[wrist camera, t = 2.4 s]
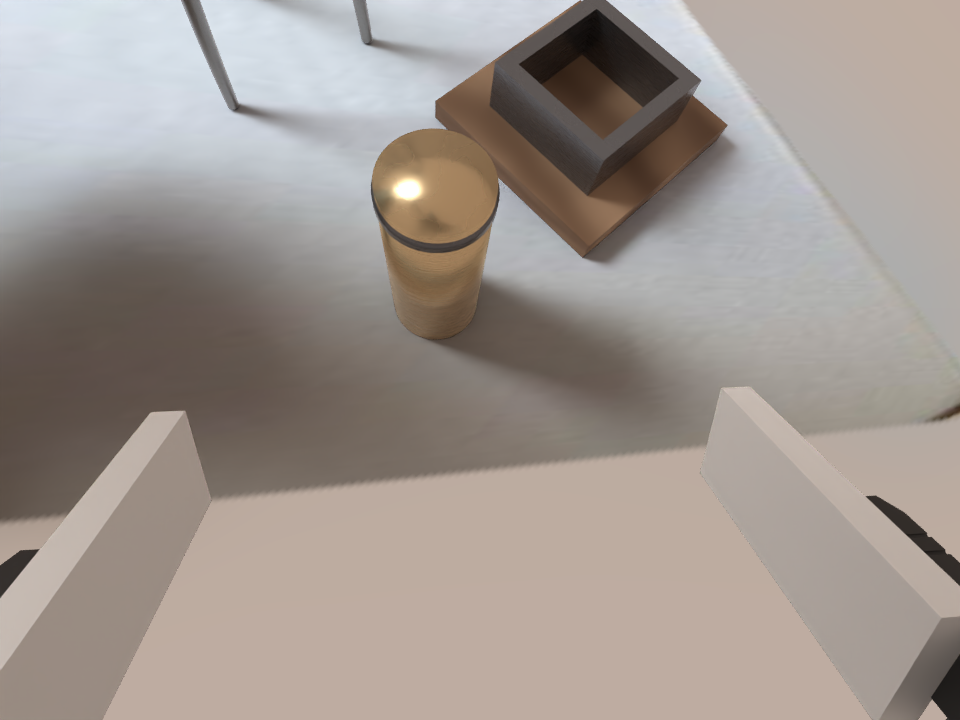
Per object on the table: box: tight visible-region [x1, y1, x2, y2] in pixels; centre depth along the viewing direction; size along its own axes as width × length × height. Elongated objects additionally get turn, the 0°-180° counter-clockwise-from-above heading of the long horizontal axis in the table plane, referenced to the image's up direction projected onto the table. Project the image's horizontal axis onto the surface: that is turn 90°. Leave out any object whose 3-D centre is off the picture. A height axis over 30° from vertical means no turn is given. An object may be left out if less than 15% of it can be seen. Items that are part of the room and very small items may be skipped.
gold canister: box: [371, 129, 500, 339], centre depth 27 cm, size 5×5×12 cm
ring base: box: [435, 0, 727, 258], centre depth 37 cm, size 14×14×2 cm
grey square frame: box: [489, 0, 701, 196], centre depth 34 cm, size 9×9×4 cm
